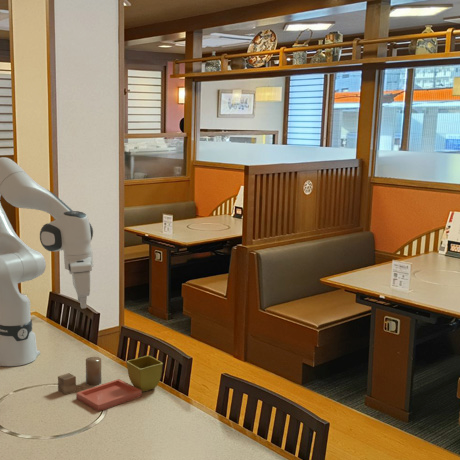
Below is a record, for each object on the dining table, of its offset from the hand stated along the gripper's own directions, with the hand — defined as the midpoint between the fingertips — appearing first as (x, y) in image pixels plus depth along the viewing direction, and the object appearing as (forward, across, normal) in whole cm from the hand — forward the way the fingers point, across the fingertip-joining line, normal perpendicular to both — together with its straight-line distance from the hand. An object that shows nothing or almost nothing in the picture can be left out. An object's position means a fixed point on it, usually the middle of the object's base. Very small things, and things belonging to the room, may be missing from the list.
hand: (82, 304), depth 196 cm
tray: (+28, +11, +5) cm, 30 cm away
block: (+27, +2, -7) cm, 28 cm away
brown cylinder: (+27, -2, +2) cm, 27 cm away
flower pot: (+29, +6, +17) cm, 34 cm away
